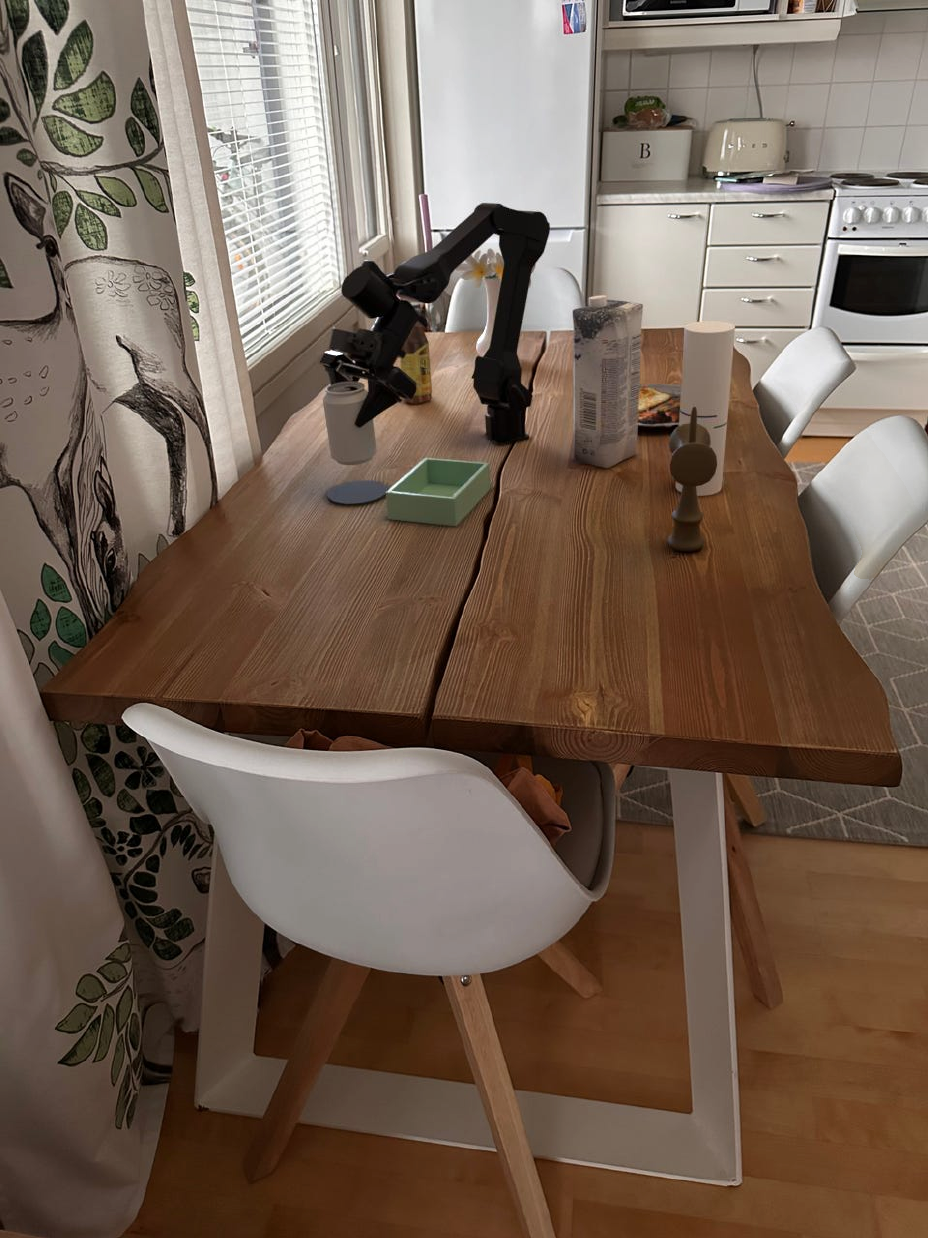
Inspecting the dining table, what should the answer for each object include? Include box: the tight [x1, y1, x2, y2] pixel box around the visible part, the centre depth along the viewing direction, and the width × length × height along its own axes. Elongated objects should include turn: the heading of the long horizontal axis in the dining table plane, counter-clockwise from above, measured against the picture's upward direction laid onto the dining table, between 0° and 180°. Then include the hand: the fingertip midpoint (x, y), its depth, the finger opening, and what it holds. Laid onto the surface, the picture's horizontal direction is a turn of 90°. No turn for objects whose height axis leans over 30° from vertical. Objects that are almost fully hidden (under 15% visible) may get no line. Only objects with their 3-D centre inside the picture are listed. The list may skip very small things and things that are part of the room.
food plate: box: [638, 383, 681, 430], centre depth 179 cm, size 25×23×4 cm
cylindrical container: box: [675, 320, 736, 497], centre depth 141 cm, size 7×7×25 cm
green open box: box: [385, 457, 492, 527], centre depth 147 cm, size 15×11×4 cm
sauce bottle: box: [399, 301, 433, 404], centre depth 193 cm, size 6×6×20 cm
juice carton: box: [572, 294, 644, 469], centre depth 154 cm, size 9×10×27 cm
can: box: [322, 381, 378, 466], centre depth 148 cm, size 8×8×12 cm
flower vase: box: [454, 247, 537, 357], centre depth 216 cm, size 13×18×25 cm
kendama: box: [667, 406, 717, 552], centre depth 124 cm, size 6×10×20 cm, turn 171°
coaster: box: [326, 480, 389, 507], centre depth 154 cm, size 10×10×1 cm
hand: (342, 421), depth 147 cm, fingers closed on can, 7 cm apart
